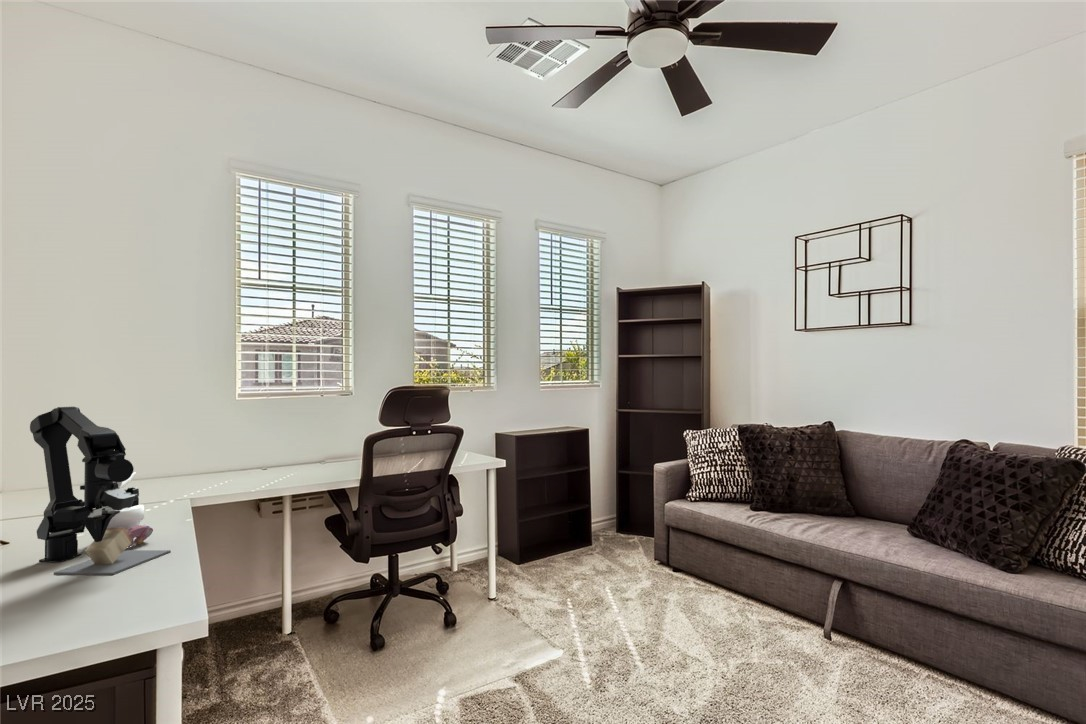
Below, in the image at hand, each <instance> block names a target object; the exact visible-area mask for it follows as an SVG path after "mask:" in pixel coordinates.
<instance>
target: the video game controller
mask: <svg viewBox="0 0 1086 724" xmlns="http://www.w3.org/2000/svg"><path fill="white" fill-rule="evenodd" d="M126 531H127V532H128V534H129V535H130V537H131V538H132V540H133V541H132V542H131V544H130V545H129V546H128V547H130V546H131V547H132V546H133V545H137V544H139V545H141V544H142V543H143V542H144V541H145V540H146V539H147V538H149V537H150V536H151V535H152V534H153V532H154V529H153V527H151V526H149V525H146V524H143V525H140V524H139V526H134V527H131V528H130V529H128V530H126ZM140 543H141V544H140ZM131 547H130V548H131Z"/></svg>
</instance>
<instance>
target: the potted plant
mask: <svg viewBox="0 0 1086 724" xmlns="http://www.w3.org/2000/svg"><path fill="white" fill-rule="evenodd" d="M135 474H137V471H135V472H134V470H133V473H132V475H131V477H130V478H128V479H127V480H125V481H123V482H117V484H118V488H119V489H120V490H121V489H122V488H124V487H126V486H128V484H129V483H131V481H132V479H134V478H135ZM116 511H120V513H118V514H116V515H115V516H114V517H113V518H112V519H111V520H110V522H109V524H108V527H107V528H125V529H126V530H128V529H130V528H131V527H134V526H139V525H140V523H141V521H143V520H145V505H144V504H139V505H137V506H133V507H130V508H124V509H122V510H116Z"/></svg>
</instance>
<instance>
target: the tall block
mask: <svg viewBox="0 0 1086 724" xmlns="http://www.w3.org/2000/svg"><path fill="white" fill-rule="evenodd" d="M132 541H134V539H133V540H132V538H131V537H130V535H129V534H128V532H127V531H126V529H125V528H107V529H106V531H105V534H104V536H103V539H102V541H100V542H95V541H94V540H93V541H92V542H91V544H89V545H88V547H87V548H85V550H84V551H85V553H86V554H87V555H88V557H89V559H90V560H91V559H92V561H93V562H94V564H113V563H114V561H115V560H116V559H117V558H118V557H119V556H120V555H121V554H122V553H123V551H124V550H126V549H128V548H127V547H128V546H129V545H130V544H131V542H132Z"/></svg>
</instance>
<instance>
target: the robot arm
mask: <svg viewBox="0 0 1086 724" xmlns="http://www.w3.org/2000/svg"><path fill="white" fill-rule="evenodd" d="M29 431H30V432H31V434H32V438H33V440H34V442H35V443H36V444H37V445H38V446H39V447H41V449H43V455H44V463H45V471H46V478H47V486H48V493H49V502H48V504H47V506H46V507H45V509H44V511H43V518H42V520H41V522H40V523H39V526H38V527H37V529H36V537H37V540H38V539H39V540H43V541H44V558H41V559H38V562H39V563H48V562H49V563H61V562H65V561H67V560H70V559H74V558H76V557H79V556H82V555H83V553H82V552H78V551H79V550H78V549H79V547H78V545H79V543H78V541H79V540H78V534H80V533H81V534H82V533H84V532H85V528H86V531H88V533H89V534H90V536H91V538H92V539H93V542H94V541H95V542H100V541H102V539H103V536H104V534H105V531H106V529H107V527H108V524H109V522H110V520H111V519H112V518H113V517H114V516H115V515H116V514H118V513H120V511H116V510H122V509H124V508H130V507H133V506H137V505H140V504H139V502H140V501H139V500H140V499H139V497H140V491H139V489H140V488H139V487H136V486H131V487H128V488H127V489H125V488H124V489H121V488H120V489H119V488H118V484H117V482H123V481H125V480H127V479H128V478H130V477H131V475H132V473H133V471H134V468H135V467H134V466H133V464H132V462H131V461H130V460H129V459H127V458H125V457H126V455H127V453H126V447H125V446H124V443H123V442H122V440H121V438H120V436H119V434H118V433H117V431H115V430H113V429H111V428H109V427H105V426H99V425H97V424H96V423H95V422H93V421H92V420H91V419H89V418H88V417H87V416H86V415H85V414H83V412H81V410H80V407H76V406H58V407H55V408H53V409H52V410H50V411H48V412H45V413H42V414H39V415H37V416H36V417H35V418H33V419H32V420H31V421H30V424H29ZM72 436H74V437H76V439H77V445H76V446H77V447H78V449H79V451H80V452H81V453H82V455H83V456H84V457H83V458H82V459H81V462H82V463H84V484H82V485H79V491H82V490H83V491H84V494H83V495H84V497H83V498H84V500H83V499H81V498H80V499H78V498H77V497H76V496H75V495H74V490H73V483H72V476H71V468H70V462H69V455H68V449H67V444H68V442H69V441H70V439H71V437H72Z"/></svg>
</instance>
